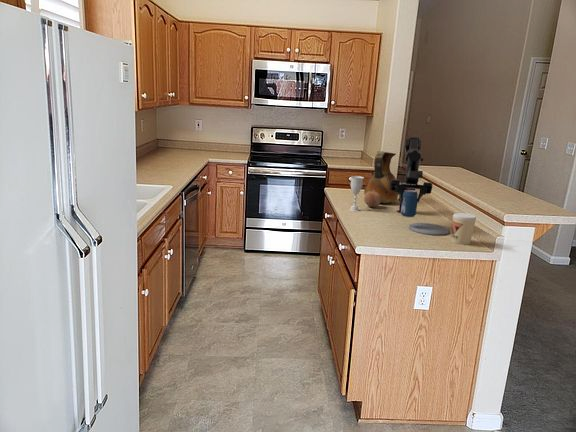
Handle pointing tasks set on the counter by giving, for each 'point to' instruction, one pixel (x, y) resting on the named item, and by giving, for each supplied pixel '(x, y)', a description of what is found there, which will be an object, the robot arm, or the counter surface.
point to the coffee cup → (462, 228)
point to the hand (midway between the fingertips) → (409, 201)
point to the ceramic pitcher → (382, 178)
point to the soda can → (409, 203)
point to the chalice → (356, 189)
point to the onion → (372, 198)
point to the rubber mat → (429, 229)
